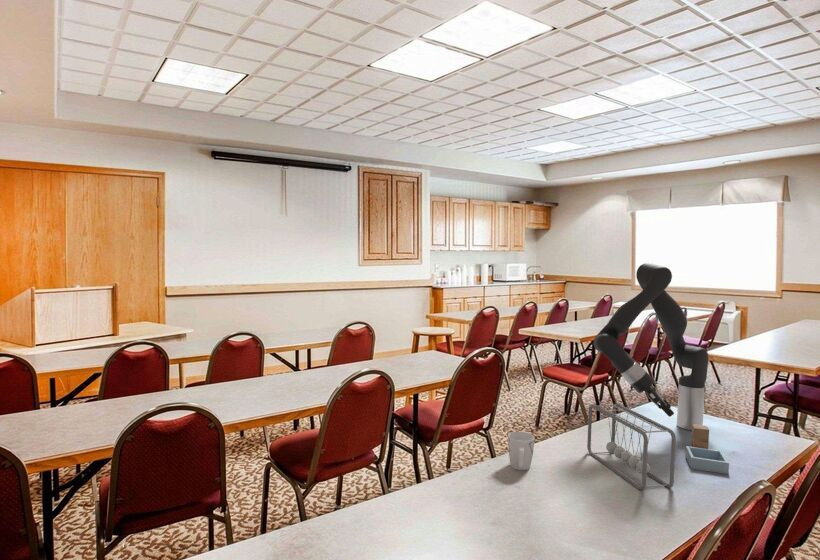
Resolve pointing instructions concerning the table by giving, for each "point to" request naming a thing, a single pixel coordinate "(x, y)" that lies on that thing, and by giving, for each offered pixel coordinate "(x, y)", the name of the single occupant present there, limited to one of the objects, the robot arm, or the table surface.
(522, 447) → the mug
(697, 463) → the tray
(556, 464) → the table surface
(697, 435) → the block
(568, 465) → the table surface
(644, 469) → the newton's cradle
